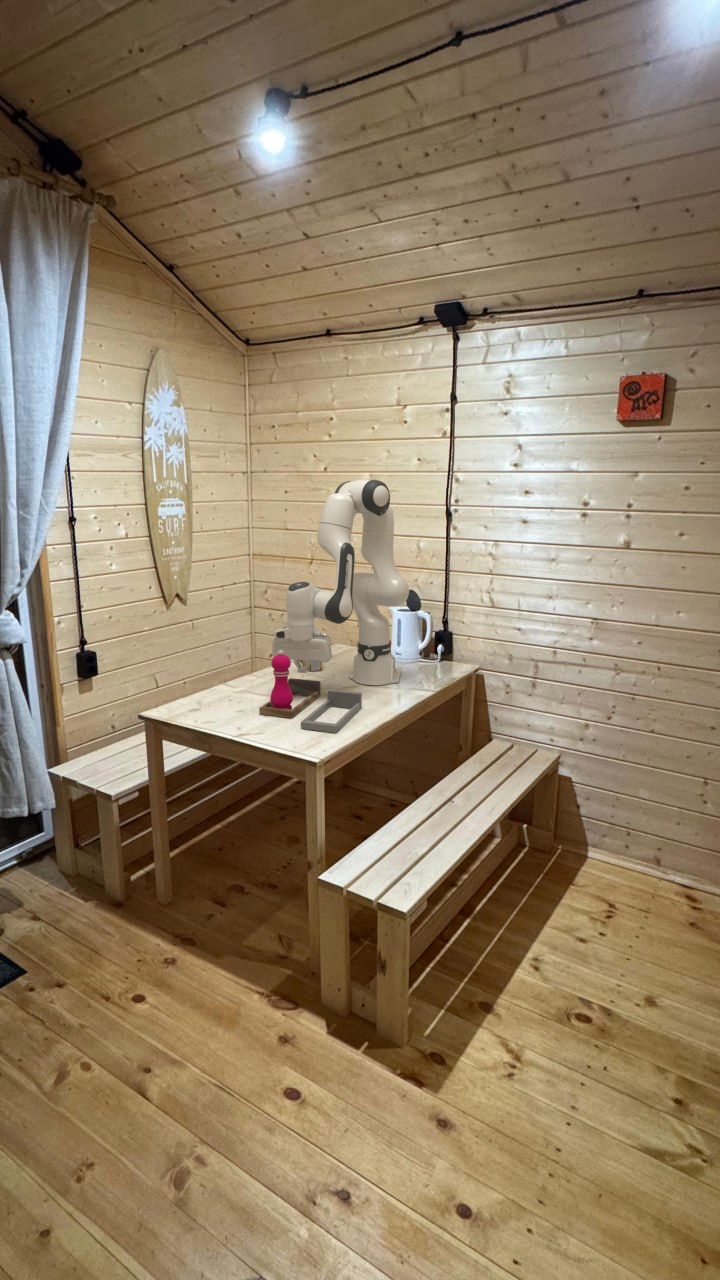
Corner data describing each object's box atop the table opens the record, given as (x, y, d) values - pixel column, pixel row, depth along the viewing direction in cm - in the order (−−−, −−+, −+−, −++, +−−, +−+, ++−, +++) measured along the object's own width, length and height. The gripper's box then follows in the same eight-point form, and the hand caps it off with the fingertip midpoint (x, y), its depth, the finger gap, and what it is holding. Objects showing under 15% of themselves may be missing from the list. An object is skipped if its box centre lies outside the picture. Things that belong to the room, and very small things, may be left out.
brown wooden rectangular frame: (290, 692, 237) (290, 678, 236) (320, 695, 234) (320, 681, 233) (259, 714, 215) (259, 698, 214) (292, 718, 212) (291, 702, 210)
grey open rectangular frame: (329, 703, 225) (329, 689, 224) (361, 707, 222) (361, 692, 221) (300, 728, 203) (300, 712, 202) (336, 732, 200) (336, 716, 199)
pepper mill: (293, 707, 222) (292, 647, 217) (293, 715, 215) (292, 652, 210) (270, 708, 221) (269, 647, 217) (270, 715, 214) (268, 653, 210)
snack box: (296, 658, 282) (295, 622, 278) (309, 657, 284) (309, 621, 280) (308, 672, 262) (308, 633, 259) (322, 671, 264) (322, 632, 260)
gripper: (334, 631, 226) (335, 671, 230) (276, 627, 232) (279, 667, 236) (327, 636, 220) (328, 677, 224) (268, 632, 227) (271, 672, 230)
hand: (302, 672), depth 230 cm, fingers closed
